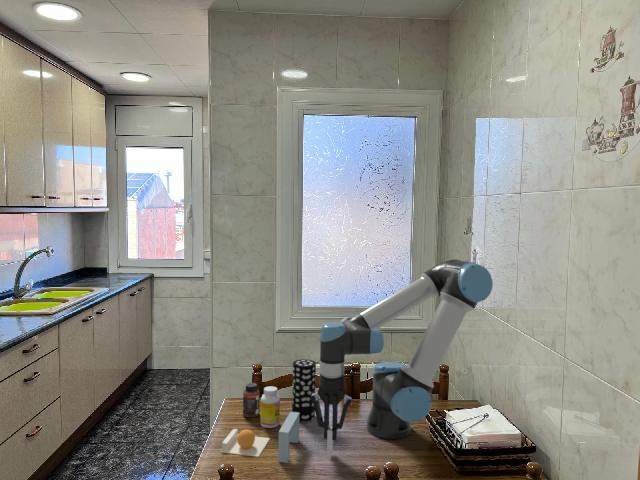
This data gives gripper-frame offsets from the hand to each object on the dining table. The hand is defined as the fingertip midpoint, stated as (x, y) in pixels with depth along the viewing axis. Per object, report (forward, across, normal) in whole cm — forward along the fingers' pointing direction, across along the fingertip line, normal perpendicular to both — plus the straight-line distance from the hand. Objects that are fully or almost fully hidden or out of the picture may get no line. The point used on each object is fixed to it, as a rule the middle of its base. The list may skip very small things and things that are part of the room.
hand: (330, 449), depth 145 cm
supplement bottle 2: (+2, +24, -16) cm, 29 cm away
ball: (-1, +27, +1) cm, 27 cm away
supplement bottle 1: (+2, +33, -22) cm, 40 cm away
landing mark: (+2, +27, 0) cm, 27 cm away
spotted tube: (+2, +14, -25) cm, 29 cm away
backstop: (+2, +32, 0) cm, 33 cm away
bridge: (+2, +13, 0) cm, 13 cm away
